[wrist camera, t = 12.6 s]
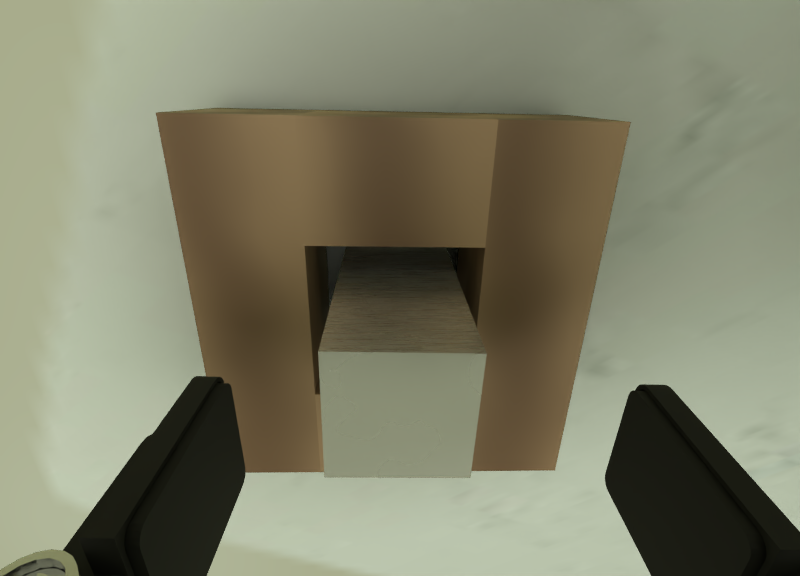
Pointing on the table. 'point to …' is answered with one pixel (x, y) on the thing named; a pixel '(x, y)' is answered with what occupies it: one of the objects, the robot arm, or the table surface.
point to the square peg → (399, 367)
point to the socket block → (391, 227)
